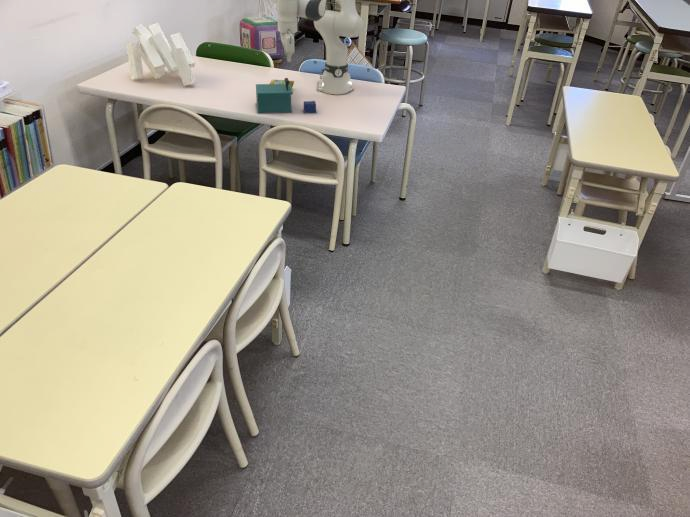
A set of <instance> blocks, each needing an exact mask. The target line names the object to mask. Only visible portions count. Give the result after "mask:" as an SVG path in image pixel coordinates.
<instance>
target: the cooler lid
mask: <svg viewBox="0 0 690 517" xmlns="http://www.w3.org/2000/svg"><path fill="white" fill-rule="evenodd" d="M283 80H285V83H286V84H270V83H256V84H255V90H256V89H257V94H258V95H286V94H291V95H293V93H294V92H293V90H292V89H291V87H290V84H289V81H290V80H289V78H288V77H284V79H283Z"/></svg>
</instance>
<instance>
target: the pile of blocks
mask: <svg viewBox="0 0 690 517" xmlns="http://www.w3.org/2000/svg"><path fill="white" fill-rule="evenodd" d="M131 33H132V34H133V35H134V36H135V37H136V38H137V39H138V41H139V42H138V41H137V42H136V41H129V42H127V43H125V46H126V47H125V48H126V53H127V60H128V66H129V73H130V78H131V80H141V79H144V78H145V76H144V70H143V64H142V61H143V62H144V64H145V66H146V67H147V68H148V70H149V71H150V73H151V75H152V76H153V77H154V79H155V80H158V79H159V78H160V77H162V76H164V75H165V74H167V71H168V72H170V73H171V75H172V76H173V77H174V76H177V75H179V76H180V78H181V81H182V84H183V86H184V87H185V86H189V85H191V84H195V83H196V79H195V77H194V73H193V72H192V68H194V67H195V66H196V62H195V60H194V58H193V56H192V54H191V52H190V50H189V48H188V46H187V44H186V42H185V40H184V38H183V36H182V34H181V32H180V31H179V32H175V33H174V34H170V35H169V40H170V43H171V44H172V46H173V48H174V49H172V47H171V45H170V43H169V41H168V39H167V37H166V35H165V33H164V31H163V29H162V27H161V25H160V23H159V22H155V23H152V24H149V25H148V29H147V27H145V26H144V25H143V24H142V23H139V24H138V25H137V26H135V27H134V28H133V30H132V32H131ZM139 43H140V44H139ZM166 69H167V71H166Z"/></svg>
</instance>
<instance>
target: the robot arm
mask: <svg viewBox="0 0 690 517" xmlns="http://www.w3.org/2000/svg"><path fill="white" fill-rule="evenodd" d="M328 1H329V0H277V5H276V6H277V13H278V15H277V31H278V32H279V35H280V36H279V37H280V42H281V45H282V46H283V52H284V53H283V54H284V56H285V57H286V62H287V63H292V56H293V55H294V54H295V49H296V48H295V34H296V33H297V32H298V18H304V19H306V20H307V19H308V20H311V21H313V25H314V29H315V30H316V31H317V32H318V34H320V36H321V38H322V39H323V42H324V46H325V57H324V58H323V60H325V63H324V67H325V69H324V70H323V69H322V74H320V75H319V80H318V84H317V85H318V87H317V91H318V92H321V93H322V92H323V93H325V94H329V95H345V94H347V93H349V92H351V91H354V88H353V87H352V86H351V85H352V82H351V74H350V73H349V72H348V71H349V63H348V56H349V49H348V47H347V45H346V44H345V43H344V42H343V41H342V39H341V38H340V37H344V38H349V39H350V38H358V37H359V36H360V35H361V34H362V32H363V30H364V21H363V19H362V17H361V16H360V15H359V13H358V11H357V7H356V0H334V1H335V3H336V4H338V6H340V11H337V10H330V9H327V3H328Z"/></svg>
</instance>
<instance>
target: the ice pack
mask: <svg viewBox="0 0 690 517" xmlns="http://www.w3.org/2000/svg"><path fill="white" fill-rule="evenodd" d="M302 110H303V113H304V114H315V113H316V114H317V102H316V101H315V100H305V101H303V108H302Z"/></svg>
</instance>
